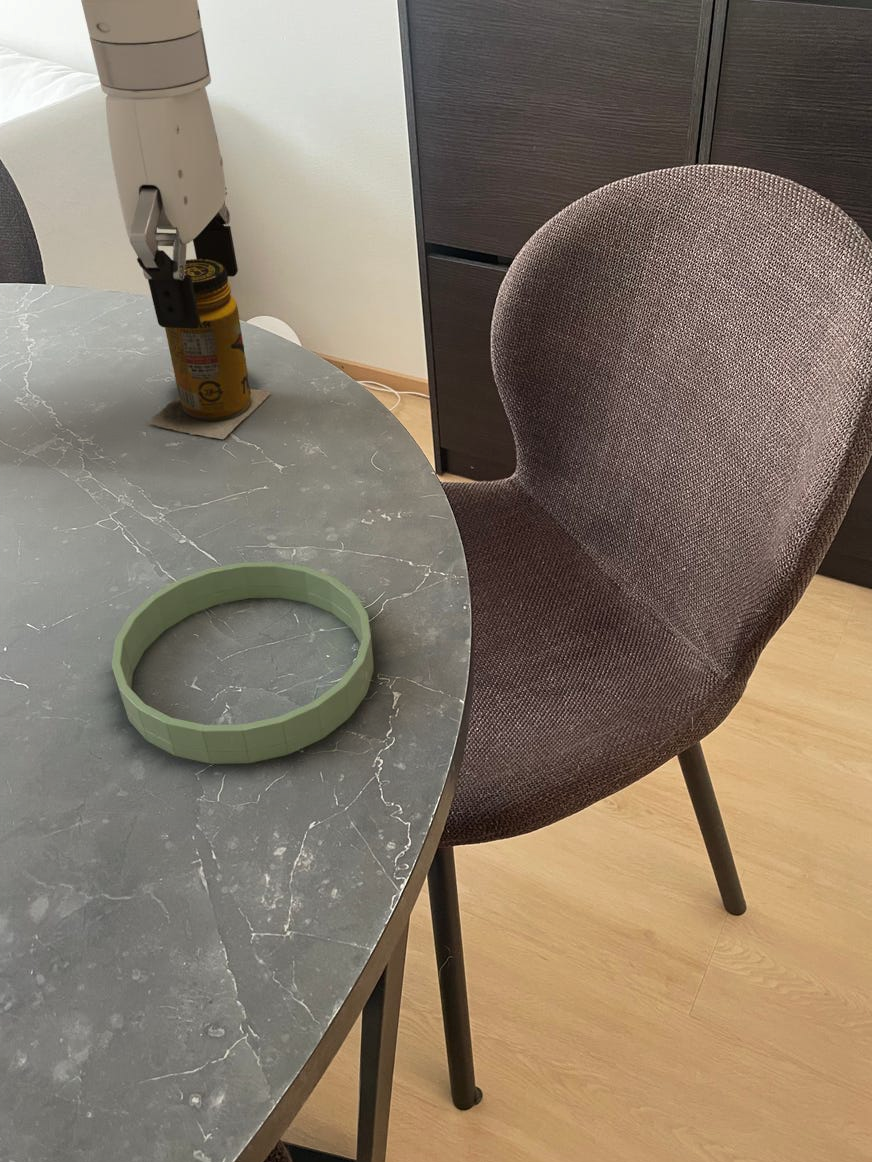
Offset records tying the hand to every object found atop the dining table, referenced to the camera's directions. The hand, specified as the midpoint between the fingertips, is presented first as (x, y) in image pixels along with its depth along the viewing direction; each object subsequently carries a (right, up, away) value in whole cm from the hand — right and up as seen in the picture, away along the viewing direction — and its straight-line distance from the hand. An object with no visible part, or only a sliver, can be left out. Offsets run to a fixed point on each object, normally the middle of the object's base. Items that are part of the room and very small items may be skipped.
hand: (200, 299), depth 84 cm
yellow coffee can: (-1, -8, +6) cm, 10 cm away
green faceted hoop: (+8, -30, -19) cm, 37 cm away
